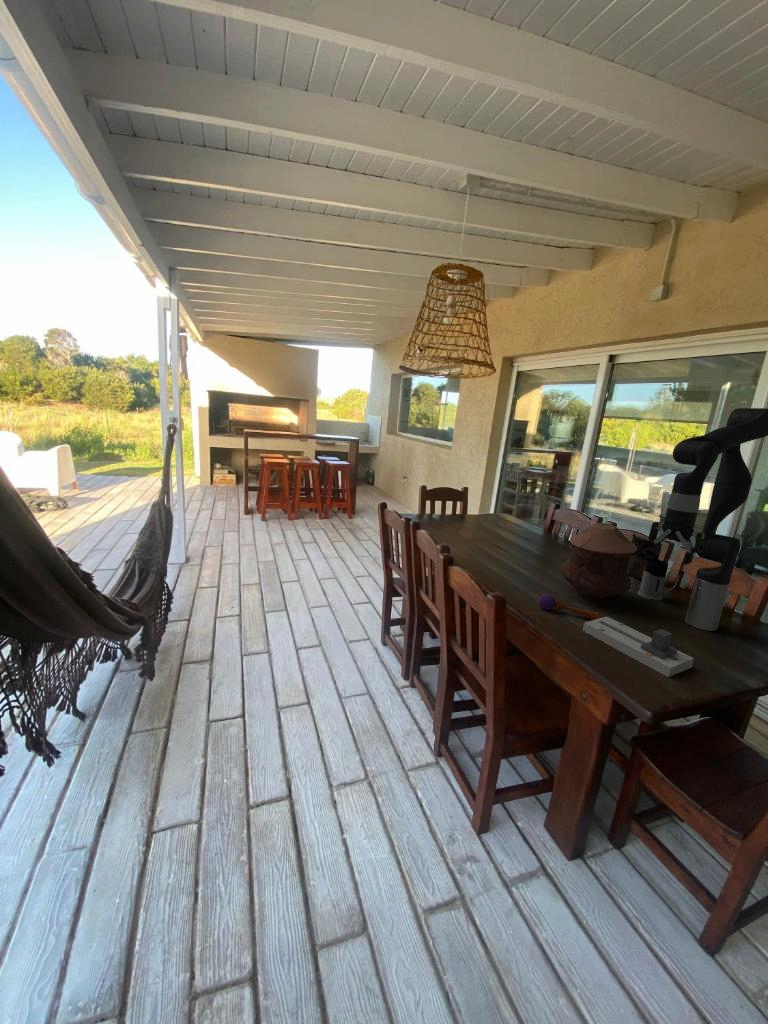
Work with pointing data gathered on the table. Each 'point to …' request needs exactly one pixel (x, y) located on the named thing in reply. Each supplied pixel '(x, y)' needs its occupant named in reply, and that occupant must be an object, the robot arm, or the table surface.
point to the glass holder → (655, 579)
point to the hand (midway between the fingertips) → (670, 559)
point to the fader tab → (660, 644)
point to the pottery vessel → (599, 562)
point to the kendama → (564, 606)
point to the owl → (640, 556)
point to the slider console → (636, 646)
